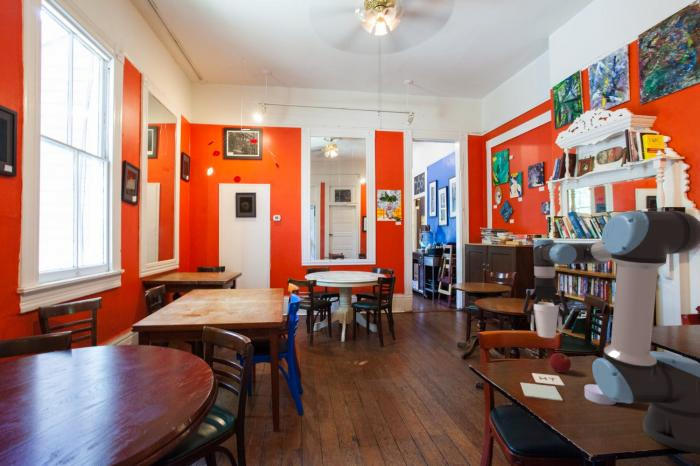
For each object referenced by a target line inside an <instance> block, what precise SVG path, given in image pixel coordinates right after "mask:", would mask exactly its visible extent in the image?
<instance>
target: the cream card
mask: <svg viewBox="0 0 700 466" xmlns="http://www.w3.org/2000/svg"><path fill="white" fill-rule="evenodd" d="M531 375H532V377H533V379H534V382H535V384H537V383H538V384H547V385H552V386H554V385H555V386H562V387H565V384H564V382H563V381H562V379H561V378H560V376H559V375H553V374H552V375H551V374H545V373H544V374H543V373H534V372H532V373H531Z"/></svg>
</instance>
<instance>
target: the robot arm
mask: <svg viewBox="0 0 700 466" xmlns="http://www.w3.org/2000/svg"><path fill="white" fill-rule="evenodd" d="M602 229H603V230H602V232H601V233H602V234H601V240H600V241H599V240H598V241H595V242H592V243H583V244H582V243H567V244H566V243H555V241H554V240H553V239H535V240H534V241H533V247H532V248H533V250H532V251H533V265H534V266H533V269H534V270H533V272H534V273H533V275H534V276H535V277H534V288H533V289H528V288H527V289H526V290H525V291H526V297H525V300H524V304H523V308H522V312H523V313H524V314H525V315H526V314H527V322H528V323H530V330H531V332H535V325H534V324H535V317H534V304H538V302H541V300H543V301H544V300H549V301H551V303H553V304H554V306H556V305H559V303H558V301H557V299H556V298H555V296H556V294H558V296H559V298H560V301H561V304H562V308H563V310H562V308H561V307H560V305H559V311H558V318H557V326H558V333H559V334H563V325H564V326H565V324H566V319H565V318H566V317H567V316H570V315H571V312H570V310H569V309H570V308H569V306H568V303H567V300H566V292H565V291H564V290H562V289H561V290H558V289H557V287H556V278H555V277H556V264H558V265H570V264H577V265H579V264H580V265H581V264H596V265H600V264H607V263H609V262H610V261H613V262H614V264H616V274H615V275H616V276H615V277H616V278H615V289H614V301H613V313H612V314H613V316H612V327H611V340H610V341H611V342H610V344H609V345H606V346H605V347H604V348H603V357H599V358H596V359H595V360H594V361H593V362H592V376H593V379H594V381H595V384H596V385H598V387H599V389H600V390H601V391H602V393H603V394H604V395H605V396H606V397H608V398H609V399H610V400H612V401H615V402H616V403H625V404H632V403H633V404H634V403H635V404H636V403H637V404H649V406H648V409H647V411H646V413H645V416H644V419H643V422H642V426H643V427H642V428H643V429H642V430H643V432H644V433H645V434H646V435H647V436H648V437H650V438H651V439H653V440H654V441H656V442H658V443H660V444H663V445H665V446H667V447H670V448H672V449H676V450H679V451H682V452H685V453H686V452H687V453H689V454H690V453H692V454H697V455H700V362H698V361H696V360H695V359H693V358H692V359H691V358H688V357H685V356H681V355H677V354H674V353H667V352H662V351H657V350H656V351H655V350H652V351H651V348H652V347H651V346H652V345H651V344H652V337H653V335H652V334H653V325H654V313H655V301H656V293H657V292H656V291H657V281H658V271H659V269H660V268H661V267H663V266H664V265H667V258H668V255H674V254H684V253H687V252H690V251H692V250H694V249H696V248H697V247H699V245H700V220H699V218H696V217H695V216H694V215H691V214H690V213H687V212H682V211H679V210H678V211H677V210H667V211H665V210H663V211H661V210H660V211H659V210H658V211H657V210H655V211H654V210H653V211H650V210H649V211H648V210H647V211H643V210H635V211H633V210H632V211H624V212H623V211H622V212H619V213H616V214H614V215H613V216H611V217H610V218H609V219H608V220H607V221H606V223H605V225H604V227H603V228H602ZM533 294H535V295H536V296H535V297H534V300H533V302H532V303H533V304H531V305H530V302H531V301H530V300H531V296H532V295H533ZM529 305H530V307H529ZM694 452H695V453H694Z"/></svg>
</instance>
